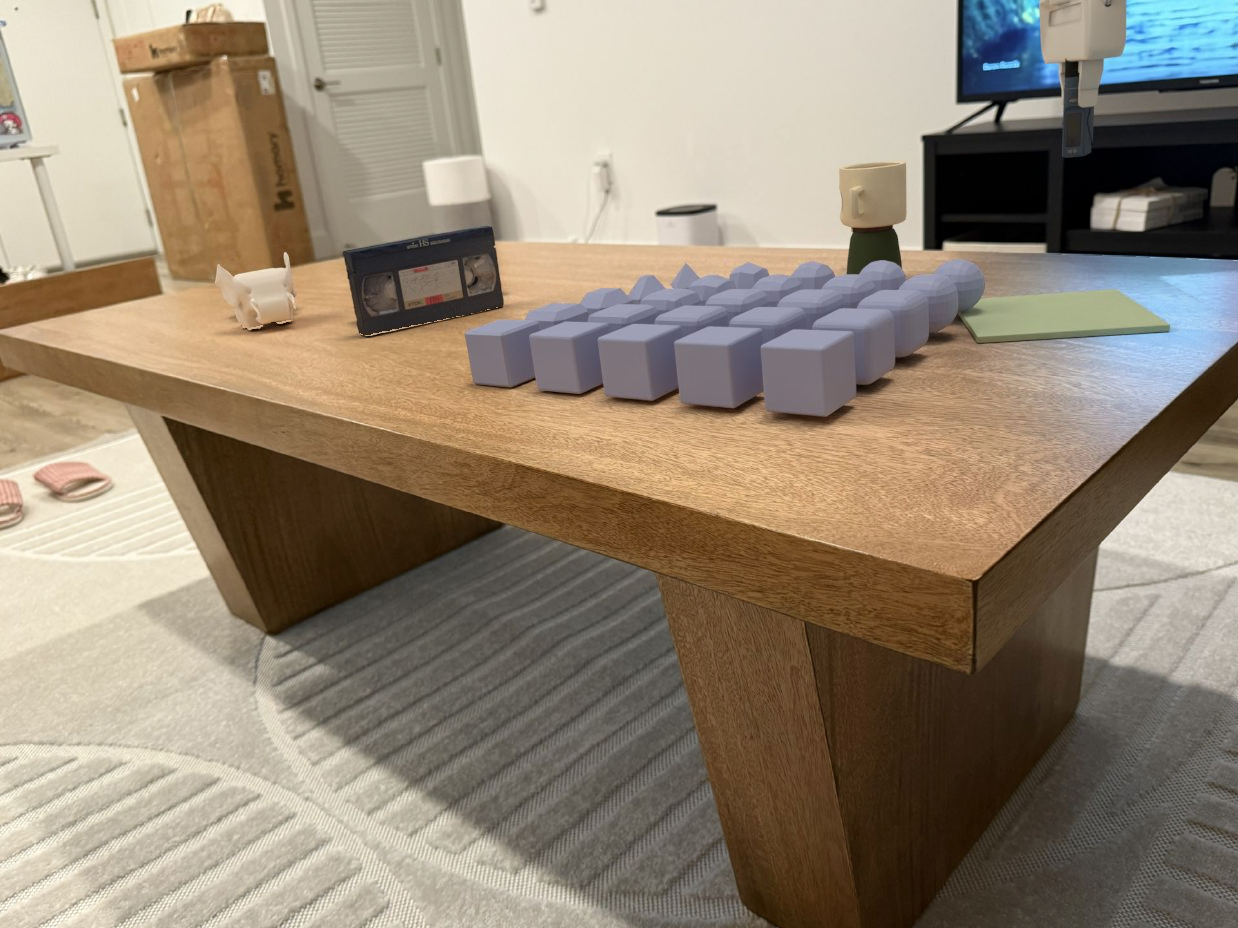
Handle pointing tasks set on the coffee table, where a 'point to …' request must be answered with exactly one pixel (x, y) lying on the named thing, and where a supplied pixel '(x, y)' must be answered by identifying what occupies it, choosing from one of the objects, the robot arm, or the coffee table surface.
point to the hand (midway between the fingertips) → (1078, 106)
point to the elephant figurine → (259, 294)
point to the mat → (1059, 316)
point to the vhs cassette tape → (424, 279)
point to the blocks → (730, 335)
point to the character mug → (873, 211)
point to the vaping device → (1075, 117)
